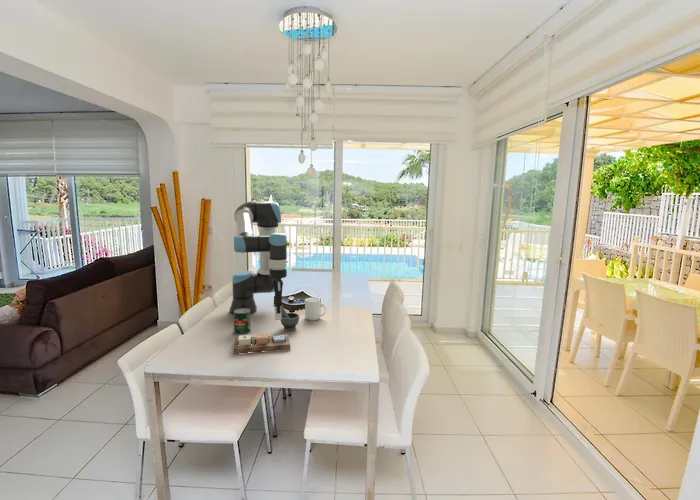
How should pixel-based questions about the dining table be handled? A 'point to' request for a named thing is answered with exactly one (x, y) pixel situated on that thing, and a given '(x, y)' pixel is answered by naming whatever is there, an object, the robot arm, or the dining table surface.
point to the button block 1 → (244, 340)
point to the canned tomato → (242, 321)
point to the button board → (262, 345)
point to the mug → (313, 308)
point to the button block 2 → (261, 338)
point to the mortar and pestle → (289, 320)
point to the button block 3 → (278, 339)
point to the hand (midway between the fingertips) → (278, 319)
